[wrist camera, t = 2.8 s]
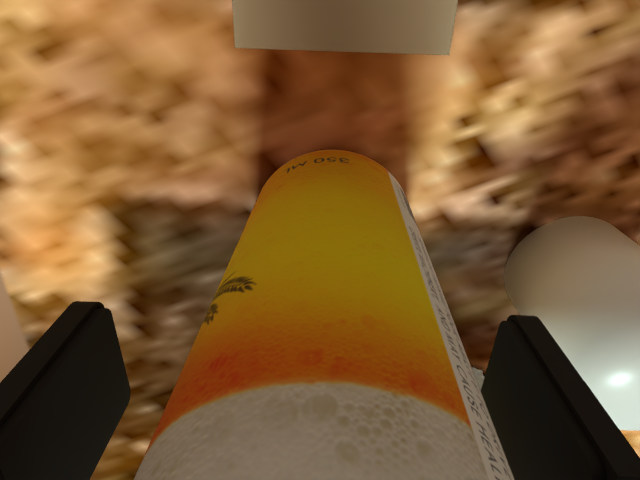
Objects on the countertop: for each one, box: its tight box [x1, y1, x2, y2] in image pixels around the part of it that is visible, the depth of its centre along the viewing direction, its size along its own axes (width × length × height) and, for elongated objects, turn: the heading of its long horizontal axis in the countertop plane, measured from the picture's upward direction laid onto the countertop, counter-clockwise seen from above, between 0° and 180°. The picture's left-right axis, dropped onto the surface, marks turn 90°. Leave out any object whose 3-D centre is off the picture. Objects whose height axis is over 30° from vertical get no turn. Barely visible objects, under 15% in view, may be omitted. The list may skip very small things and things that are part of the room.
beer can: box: [134, 150, 514, 480], centre depth 11 cm, size 6×6×15 cm
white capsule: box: [504, 216, 640, 430], centre depth 15 cm, size 5×5×6 cm
